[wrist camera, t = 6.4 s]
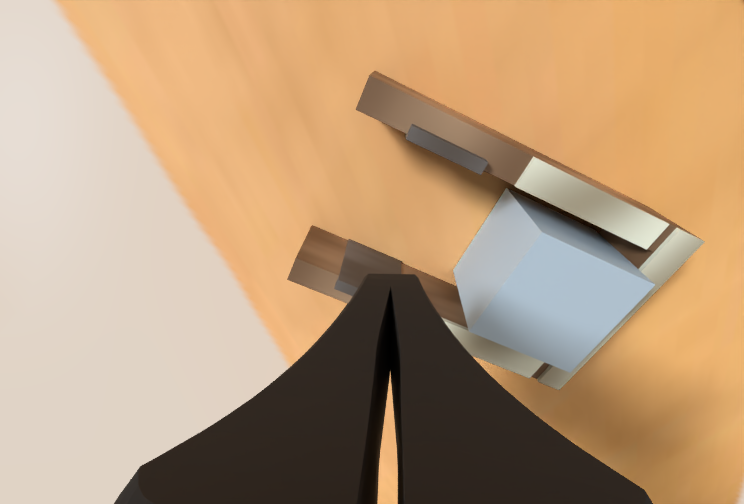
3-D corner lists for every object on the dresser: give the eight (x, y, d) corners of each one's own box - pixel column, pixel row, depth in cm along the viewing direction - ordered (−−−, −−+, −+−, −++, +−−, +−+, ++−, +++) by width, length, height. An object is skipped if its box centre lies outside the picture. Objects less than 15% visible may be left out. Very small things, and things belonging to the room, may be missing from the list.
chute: (649, 207, 18) (710, 245, 14) (535, 339, 22) (561, 394, 18) (374, 70, 16) (368, 75, 12) (304, 244, 20) (284, 285, 16)
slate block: (594, 229, 19) (655, 284, 14) (533, 304, 21) (570, 372, 16) (506, 187, 18) (541, 232, 14) (453, 270, 20) (468, 331, 16)
